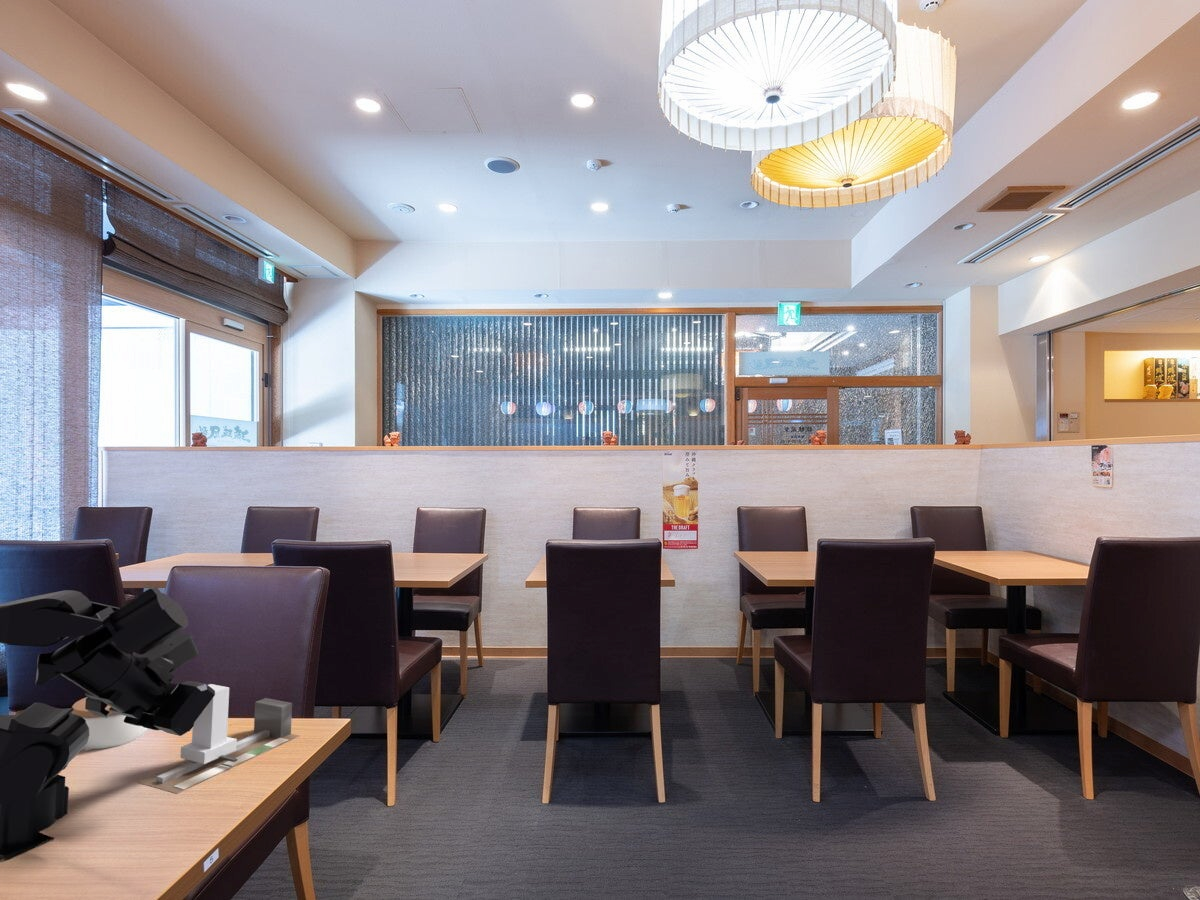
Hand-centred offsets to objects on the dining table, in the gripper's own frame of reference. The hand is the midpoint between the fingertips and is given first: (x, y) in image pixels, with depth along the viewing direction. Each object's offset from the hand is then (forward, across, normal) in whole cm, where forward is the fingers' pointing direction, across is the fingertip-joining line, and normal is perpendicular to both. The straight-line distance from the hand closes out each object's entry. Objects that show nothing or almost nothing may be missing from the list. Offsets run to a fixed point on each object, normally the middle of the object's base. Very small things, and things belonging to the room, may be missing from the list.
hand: (190, 727), depth 86 cm
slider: (+6, -1, +1) cm, 6 cm away
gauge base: (+9, -1, +2) cm, 9 cm away
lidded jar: (+8, +22, +4) cm, 24 cm away
